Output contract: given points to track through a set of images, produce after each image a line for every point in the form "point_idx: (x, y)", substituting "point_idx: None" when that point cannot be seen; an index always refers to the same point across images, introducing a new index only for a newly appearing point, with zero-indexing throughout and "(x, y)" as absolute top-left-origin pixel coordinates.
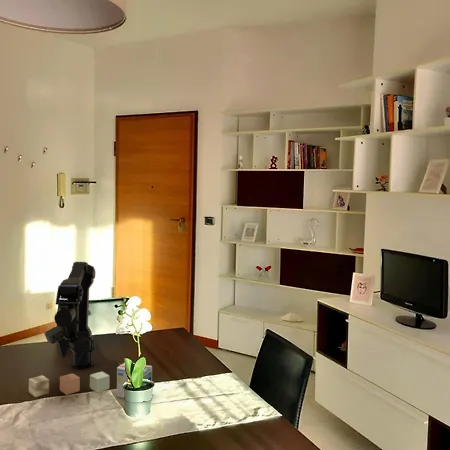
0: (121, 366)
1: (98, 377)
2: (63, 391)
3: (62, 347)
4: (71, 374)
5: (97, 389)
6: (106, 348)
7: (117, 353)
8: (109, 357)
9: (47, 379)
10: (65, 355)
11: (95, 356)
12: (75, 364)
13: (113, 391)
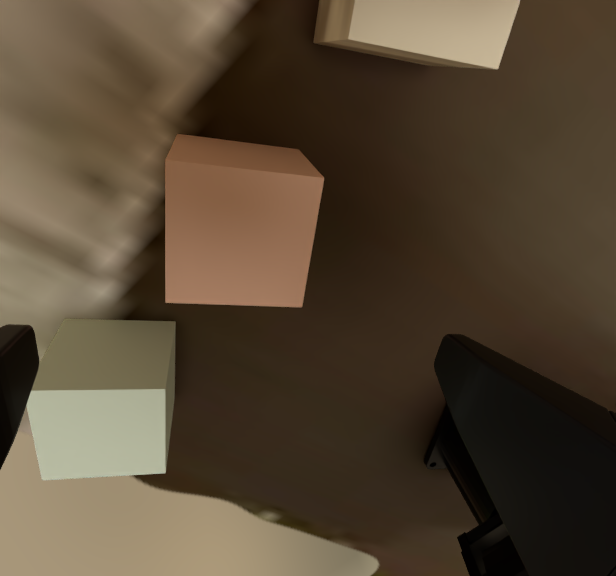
0: None
1: (57, 412)
2: (233, 142)
3: (557, 461)
4: (288, 287)
5: (58, 335)
6: None
7: (436, 567)
8: (433, 536)
9: (366, 28)
10: (440, 384)
11: None
12: (1, 335)
13: None
